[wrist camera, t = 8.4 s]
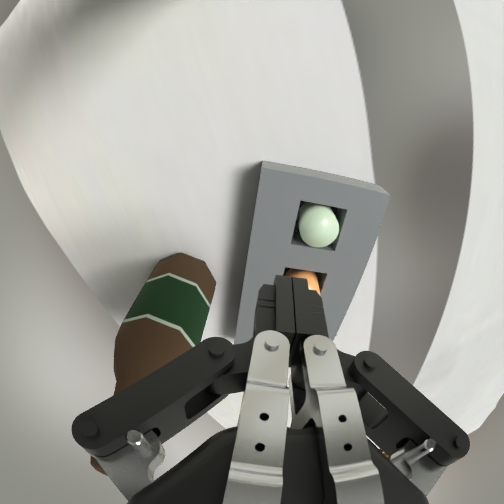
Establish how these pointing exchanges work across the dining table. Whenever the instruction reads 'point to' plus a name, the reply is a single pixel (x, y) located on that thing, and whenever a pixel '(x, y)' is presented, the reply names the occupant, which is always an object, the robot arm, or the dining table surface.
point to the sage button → (317, 224)
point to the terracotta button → (306, 274)
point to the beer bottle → (162, 320)
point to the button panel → (301, 254)
